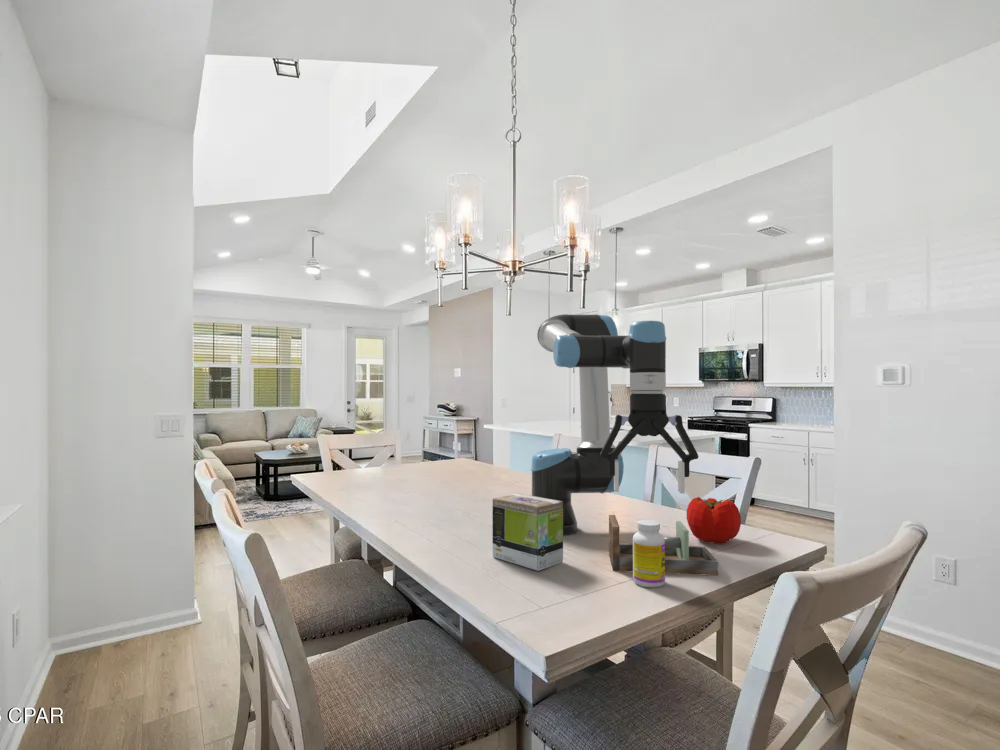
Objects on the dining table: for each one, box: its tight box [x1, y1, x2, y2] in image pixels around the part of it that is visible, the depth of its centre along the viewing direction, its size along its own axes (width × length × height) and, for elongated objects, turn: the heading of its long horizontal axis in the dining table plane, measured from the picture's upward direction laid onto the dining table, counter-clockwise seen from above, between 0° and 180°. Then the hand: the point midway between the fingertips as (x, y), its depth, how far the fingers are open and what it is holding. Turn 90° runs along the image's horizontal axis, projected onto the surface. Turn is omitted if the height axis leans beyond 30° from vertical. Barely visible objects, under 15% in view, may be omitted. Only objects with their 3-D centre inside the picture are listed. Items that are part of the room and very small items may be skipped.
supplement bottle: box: [632, 519, 666, 589], centre depth 111 cm, size 7×7×13 cm
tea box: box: [492, 493, 564, 572], centre depth 126 cm, size 15×10×15 cm, turn 45°
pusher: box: [663, 520, 690, 559], centre depth 122 cm, size 5×9×8 cm, turn 173°
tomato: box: [686, 496, 742, 545], centre depth 142 cm, size 13×14×12 cm
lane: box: [608, 514, 719, 576], centre depth 123 cm, size 23×11×10 cm, turn 83°
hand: (648, 491), depth 111 cm, fingers open, 13 cm apart
